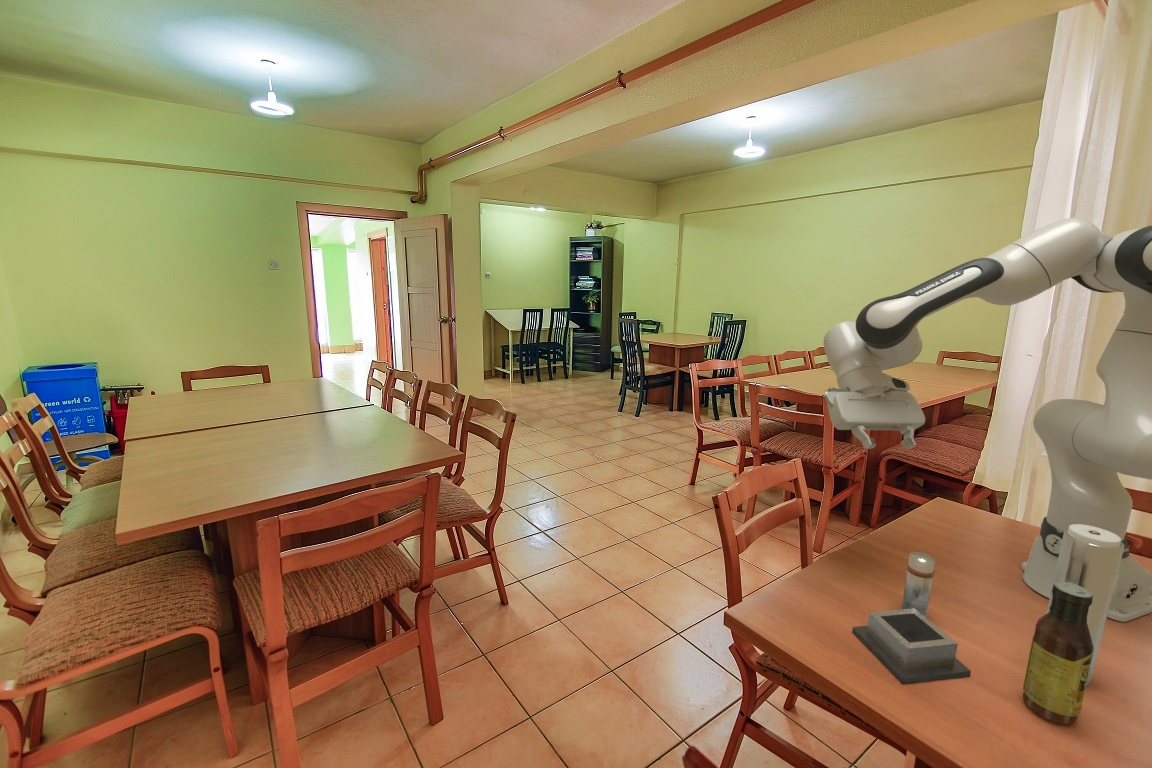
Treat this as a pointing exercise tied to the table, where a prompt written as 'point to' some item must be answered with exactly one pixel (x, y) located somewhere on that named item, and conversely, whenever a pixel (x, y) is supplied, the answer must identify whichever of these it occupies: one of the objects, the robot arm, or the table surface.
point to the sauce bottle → (1060, 656)
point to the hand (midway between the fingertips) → (890, 447)
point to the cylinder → (918, 582)
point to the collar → (911, 646)
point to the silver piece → (1090, 573)
